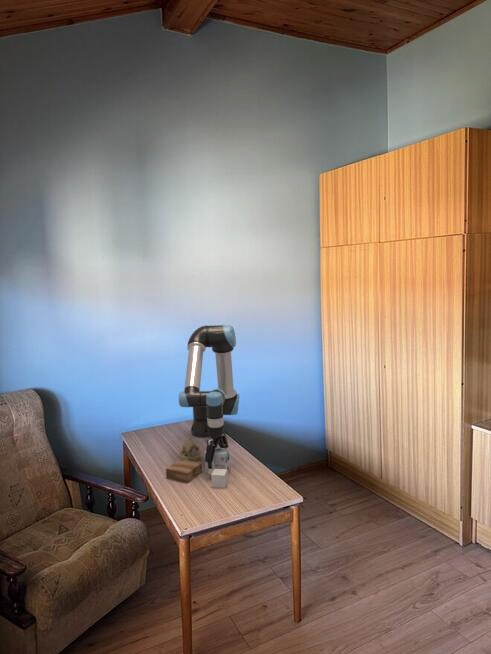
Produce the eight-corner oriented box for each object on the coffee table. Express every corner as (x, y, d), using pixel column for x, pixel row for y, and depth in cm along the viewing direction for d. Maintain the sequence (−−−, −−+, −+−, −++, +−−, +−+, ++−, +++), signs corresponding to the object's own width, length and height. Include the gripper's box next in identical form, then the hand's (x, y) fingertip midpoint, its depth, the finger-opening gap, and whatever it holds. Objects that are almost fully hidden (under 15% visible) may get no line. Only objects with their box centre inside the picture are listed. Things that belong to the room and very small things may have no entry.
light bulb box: (230, 469, 240) (229, 448, 238) (226, 475, 233) (225, 453, 231) (209, 467, 243) (208, 446, 241) (204, 473, 236) (203, 452, 234)
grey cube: (215, 481, 229) (214, 468, 228) (227, 481, 227) (227, 469, 226) (211, 487, 223) (211, 474, 222) (225, 488, 222) (224, 475, 221)
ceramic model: (177, 453, 261) (176, 435, 259) (197, 449, 265) (196, 431, 263) (185, 463, 248) (184, 444, 246) (206, 459, 252) (205, 440, 251)
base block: (181, 468, 244) (180, 458, 243) (202, 472, 238) (201, 462, 237) (166, 478, 233) (165, 468, 232) (187, 483, 227) (187, 473, 227)
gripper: (220, 416, 246) (222, 457, 250) (195, 433, 225) (198, 478, 229) (234, 417, 243) (236, 459, 247) (210, 435, 222) (212, 481, 225)
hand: (217, 468), depth 238 cm, fingers open, 12 cm apart
